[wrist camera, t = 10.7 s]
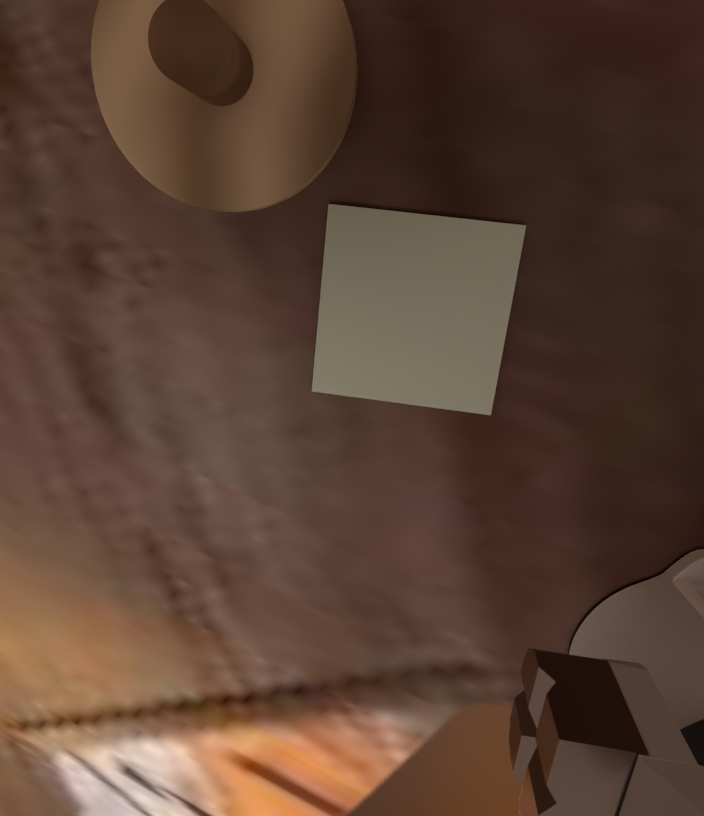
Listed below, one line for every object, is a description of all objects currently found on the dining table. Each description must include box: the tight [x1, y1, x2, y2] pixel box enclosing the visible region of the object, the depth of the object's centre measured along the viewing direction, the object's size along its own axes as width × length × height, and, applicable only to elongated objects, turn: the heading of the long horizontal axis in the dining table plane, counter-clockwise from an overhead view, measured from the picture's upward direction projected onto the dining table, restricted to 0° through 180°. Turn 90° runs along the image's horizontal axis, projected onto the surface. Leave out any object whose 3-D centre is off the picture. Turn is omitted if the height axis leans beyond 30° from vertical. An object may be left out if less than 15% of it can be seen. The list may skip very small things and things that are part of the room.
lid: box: [91, 0, 358, 212], centre depth 25 cm, size 12×12×5 cm
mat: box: [312, 204, 526, 415], centre depth 37 cm, size 12×12×1 cm
